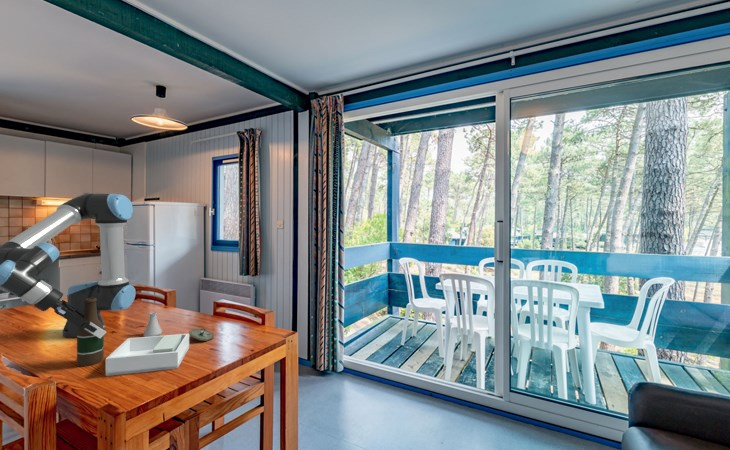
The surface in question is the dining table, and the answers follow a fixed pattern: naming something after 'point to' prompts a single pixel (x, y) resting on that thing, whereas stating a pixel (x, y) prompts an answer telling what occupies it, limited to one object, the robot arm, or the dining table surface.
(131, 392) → the dining table surface
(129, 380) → the dining table surface
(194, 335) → the lid
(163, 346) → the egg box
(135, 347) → the tray
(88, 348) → the beer bottle
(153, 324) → the flask
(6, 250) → the robot arm
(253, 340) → the dining table surface
